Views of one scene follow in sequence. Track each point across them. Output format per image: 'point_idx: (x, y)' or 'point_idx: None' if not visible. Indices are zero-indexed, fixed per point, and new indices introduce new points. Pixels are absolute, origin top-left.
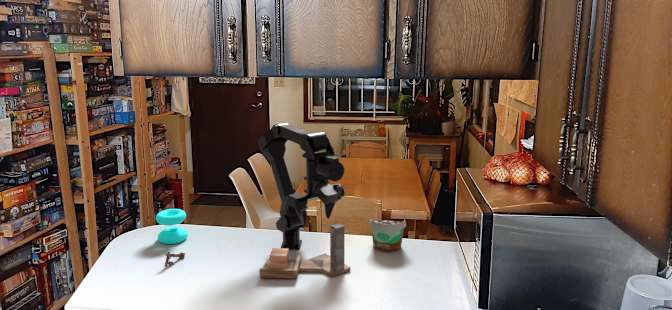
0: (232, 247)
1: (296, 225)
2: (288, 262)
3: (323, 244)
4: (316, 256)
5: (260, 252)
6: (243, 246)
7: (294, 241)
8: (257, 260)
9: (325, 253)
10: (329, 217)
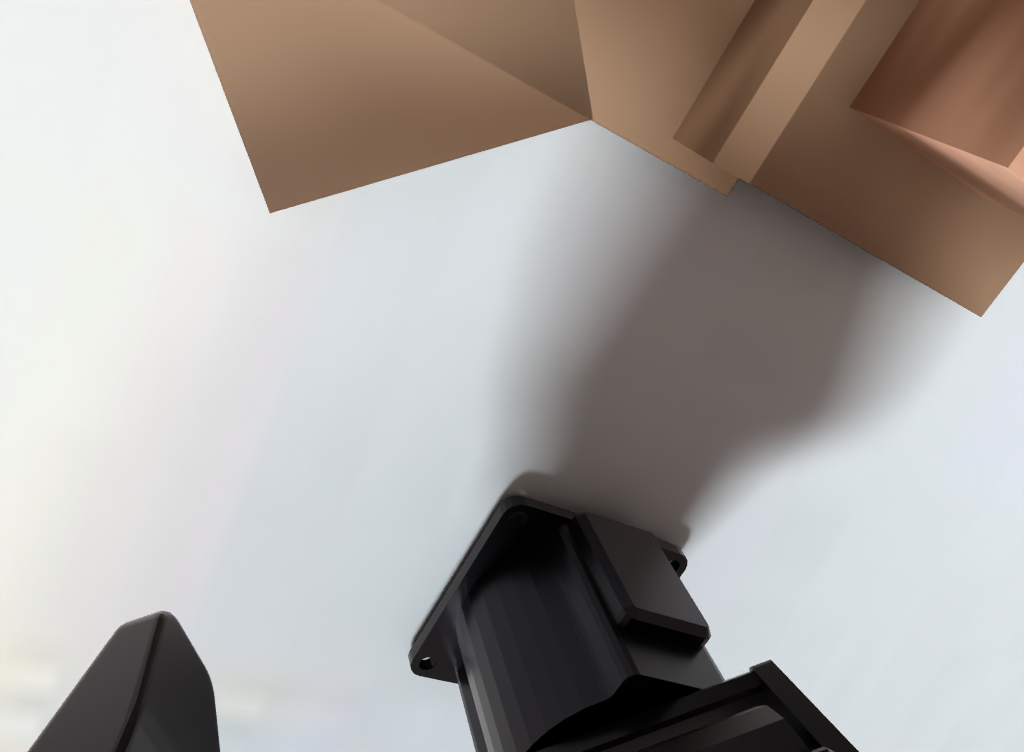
0: (994, 661)
1: (657, 747)
2: (912, 60)
3: (170, 542)
4: (437, 159)
5: (872, 528)
6: (920, 662)
7: (588, 573)
8: (984, 380)
9: (268, 203)
10: (121, 641)
